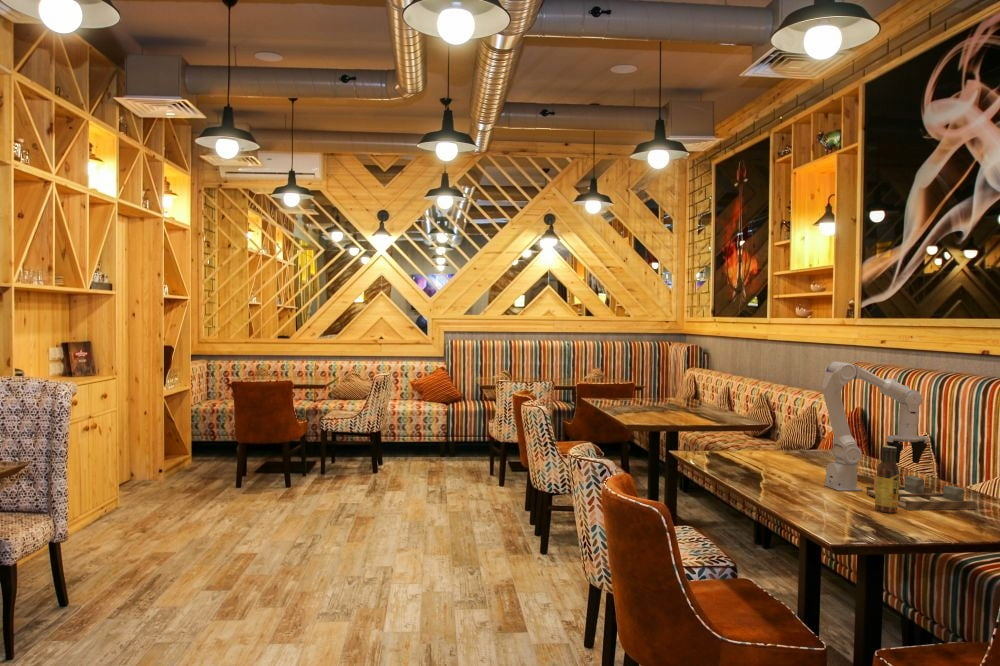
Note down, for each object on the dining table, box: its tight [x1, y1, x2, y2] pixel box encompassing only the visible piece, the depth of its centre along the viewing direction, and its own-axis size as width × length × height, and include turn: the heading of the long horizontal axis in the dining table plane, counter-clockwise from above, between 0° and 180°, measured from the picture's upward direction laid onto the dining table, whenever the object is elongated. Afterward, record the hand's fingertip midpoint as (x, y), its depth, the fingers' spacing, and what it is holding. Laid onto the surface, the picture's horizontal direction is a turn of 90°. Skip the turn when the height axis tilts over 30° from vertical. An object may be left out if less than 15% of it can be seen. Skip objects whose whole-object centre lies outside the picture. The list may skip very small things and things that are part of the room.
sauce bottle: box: [874, 445, 900, 514], centre depth 220 cm, size 7×6×20 cm
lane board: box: [866, 484, 976, 511], centre depth 233 cm, size 24×19×6 cm
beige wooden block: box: [868, 475, 925, 496], centre depth 237 cm, size 16×7×6 cm, turn 100°
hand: (905, 462), depth 248 cm, fingers open, 7 cm apart
